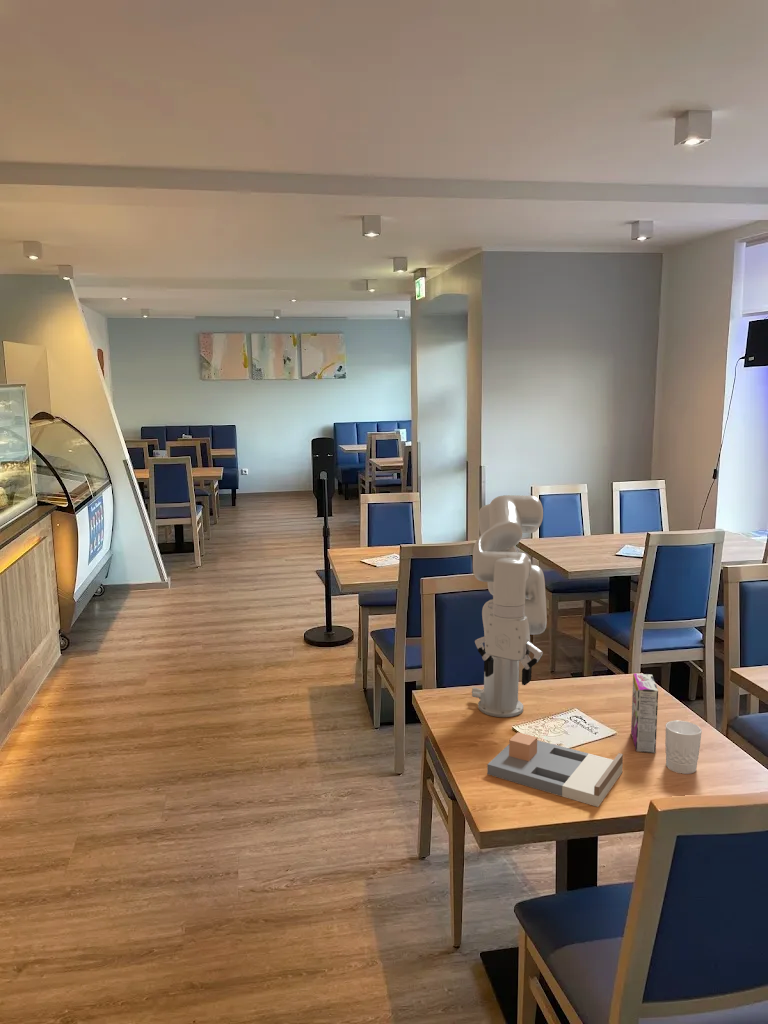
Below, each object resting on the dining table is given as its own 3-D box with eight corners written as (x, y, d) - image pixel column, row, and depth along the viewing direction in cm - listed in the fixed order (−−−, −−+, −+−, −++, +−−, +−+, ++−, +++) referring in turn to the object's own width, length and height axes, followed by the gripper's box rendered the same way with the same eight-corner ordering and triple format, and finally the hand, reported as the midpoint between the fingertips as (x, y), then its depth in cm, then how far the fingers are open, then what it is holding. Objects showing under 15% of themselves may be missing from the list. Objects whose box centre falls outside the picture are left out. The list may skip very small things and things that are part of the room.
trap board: (487, 774, 175) (487, 756, 174) (518, 744, 190) (518, 727, 189) (598, 807, 161) (599, 787, 160) (622, 772, 176) (623, 754, 175)
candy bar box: (629, 732, 196) (632, 672, 194) (649, 734, 195) (652, 673, 193) (634, 752, 186) (638, 688, 183) (656, 754, 185) (659, 690, 182)
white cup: (658, 759, 182) (660, 720, 180) (691, 759, 182) (694, 720, 180) (670, 775, 174) (672, 734, 173) (704, 775, 174) (707, 735, 172)
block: (508, 755, 178) (509, 740, 178) (517, 747, 183) (517, 732, 182) (528, 761, 176) (529, 745, 175) (536, 752, 180) (537, 737, 179)
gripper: (469, 608, 181) (468, 676, 183) (536, 619, 171) (534, 691, 173) (483, 601, 187) (482, 667, 189) (549, 612, 177) (547, 682, 179)
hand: (507, 679), depth 181 cm, fingers open, 9 cm apart
